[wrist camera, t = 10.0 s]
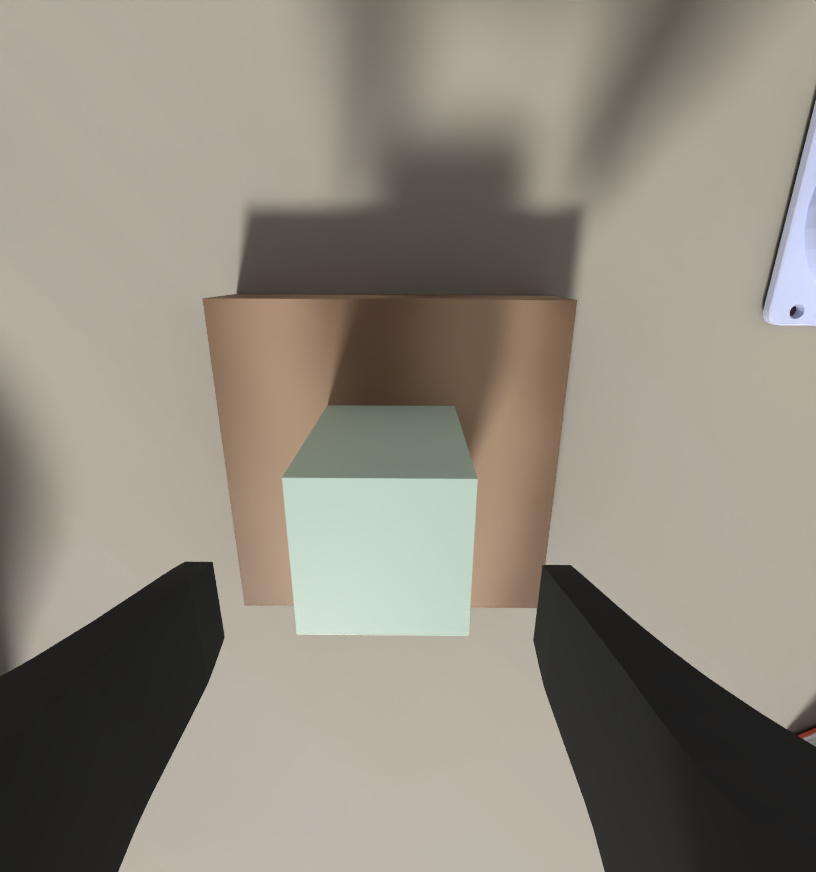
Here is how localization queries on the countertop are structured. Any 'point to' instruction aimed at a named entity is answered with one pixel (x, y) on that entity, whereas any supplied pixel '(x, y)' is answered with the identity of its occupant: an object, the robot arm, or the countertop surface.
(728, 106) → the countertop surface
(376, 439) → the sage block
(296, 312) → the walnut block
